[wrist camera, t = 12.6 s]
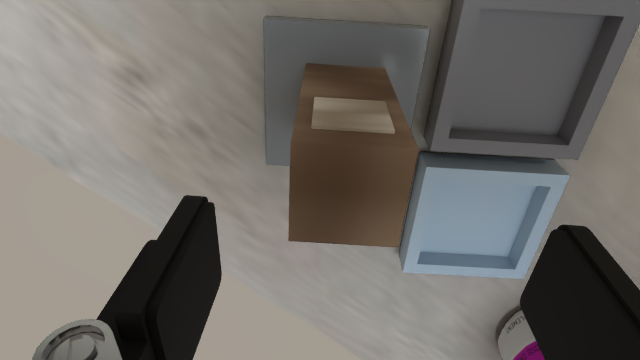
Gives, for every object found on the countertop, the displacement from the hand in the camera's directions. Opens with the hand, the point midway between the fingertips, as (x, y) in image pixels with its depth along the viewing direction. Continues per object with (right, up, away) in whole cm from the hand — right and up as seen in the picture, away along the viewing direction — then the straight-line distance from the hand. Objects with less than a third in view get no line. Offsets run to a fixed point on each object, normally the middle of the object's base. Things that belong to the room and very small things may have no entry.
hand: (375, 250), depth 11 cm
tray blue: (+8, 0, +14) cm, 16 cm away
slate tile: (0, +7, +11) cm, 12 cm away
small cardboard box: (0, +6, +10) cm, 12 cm away
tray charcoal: (+9, +8, +10) cm, 15 cm away
